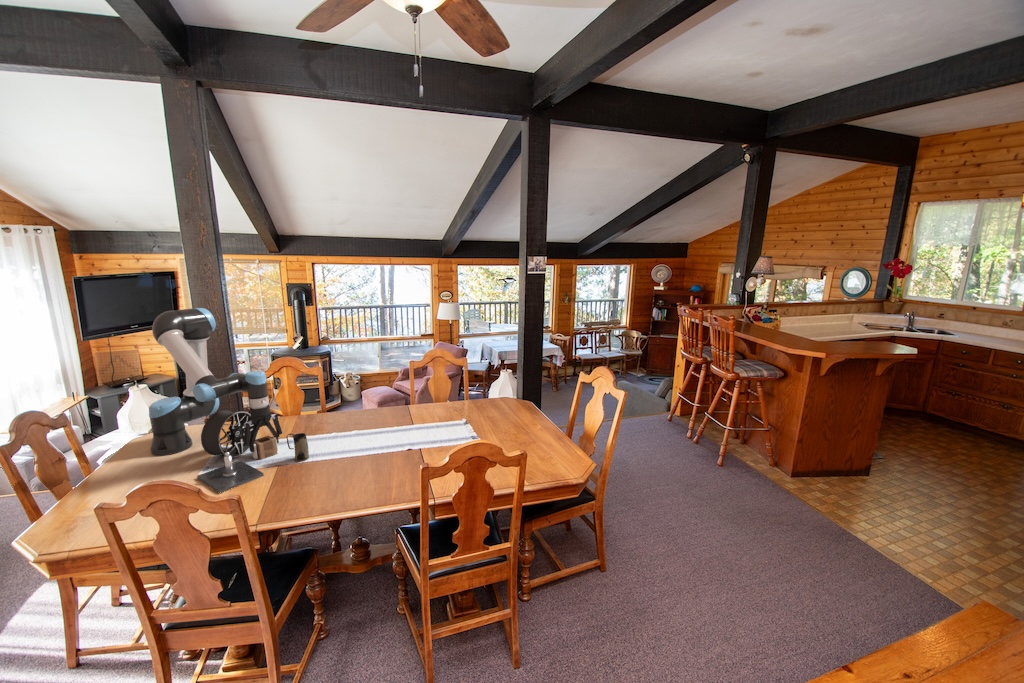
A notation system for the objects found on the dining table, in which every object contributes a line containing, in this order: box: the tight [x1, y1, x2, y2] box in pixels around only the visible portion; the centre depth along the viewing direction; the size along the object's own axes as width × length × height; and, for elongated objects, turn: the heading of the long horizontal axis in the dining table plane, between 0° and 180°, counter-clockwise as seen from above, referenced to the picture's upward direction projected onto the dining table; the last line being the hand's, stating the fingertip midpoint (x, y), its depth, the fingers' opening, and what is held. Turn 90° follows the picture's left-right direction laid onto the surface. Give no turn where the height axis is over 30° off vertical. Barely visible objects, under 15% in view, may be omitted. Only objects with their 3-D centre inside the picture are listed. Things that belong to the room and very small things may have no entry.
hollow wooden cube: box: [254, 435, 278, 461], centre depth 189 cm, size 7×7×7 cm
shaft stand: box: [196, 452, 265, 494], centre depth 169 cm, size 20×16×11 cm
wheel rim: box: [200, 410, 253, 458], centre depth 189 cm, size 20×9×20 cm, turn 168°
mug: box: [286, 432, 310, 463], centre depth 184 cm, size 8×6×12 cm
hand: (265, 454), depth 190 cm, fingers open, 8 cm apart
